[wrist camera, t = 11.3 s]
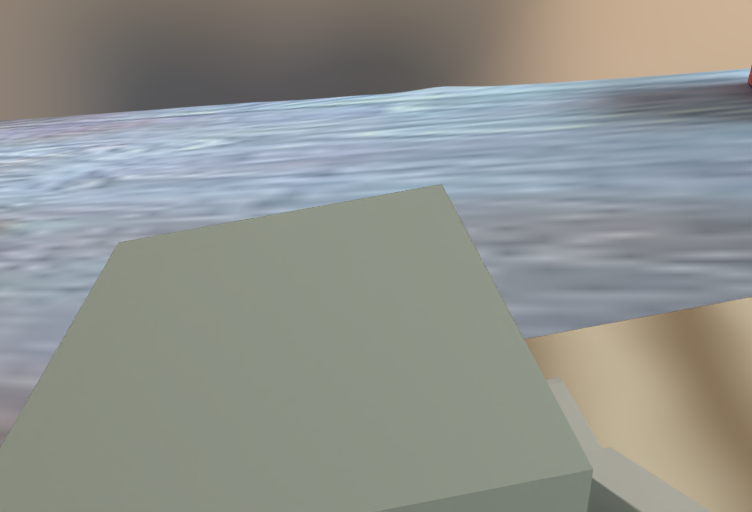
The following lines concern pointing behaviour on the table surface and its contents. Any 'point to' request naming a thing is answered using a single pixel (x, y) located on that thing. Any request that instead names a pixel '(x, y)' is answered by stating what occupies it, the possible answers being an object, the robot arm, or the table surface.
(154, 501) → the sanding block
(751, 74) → the ink cartridge box
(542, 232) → the table surface
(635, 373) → the birch board
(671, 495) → the robot arm
